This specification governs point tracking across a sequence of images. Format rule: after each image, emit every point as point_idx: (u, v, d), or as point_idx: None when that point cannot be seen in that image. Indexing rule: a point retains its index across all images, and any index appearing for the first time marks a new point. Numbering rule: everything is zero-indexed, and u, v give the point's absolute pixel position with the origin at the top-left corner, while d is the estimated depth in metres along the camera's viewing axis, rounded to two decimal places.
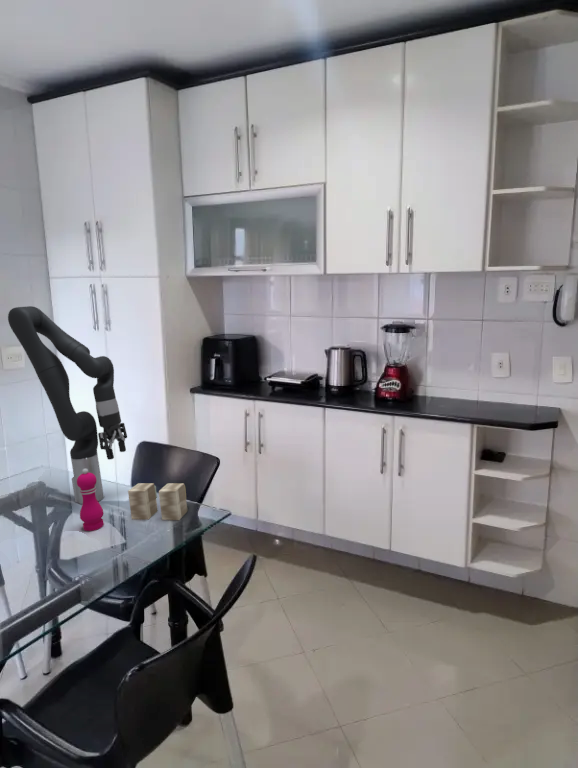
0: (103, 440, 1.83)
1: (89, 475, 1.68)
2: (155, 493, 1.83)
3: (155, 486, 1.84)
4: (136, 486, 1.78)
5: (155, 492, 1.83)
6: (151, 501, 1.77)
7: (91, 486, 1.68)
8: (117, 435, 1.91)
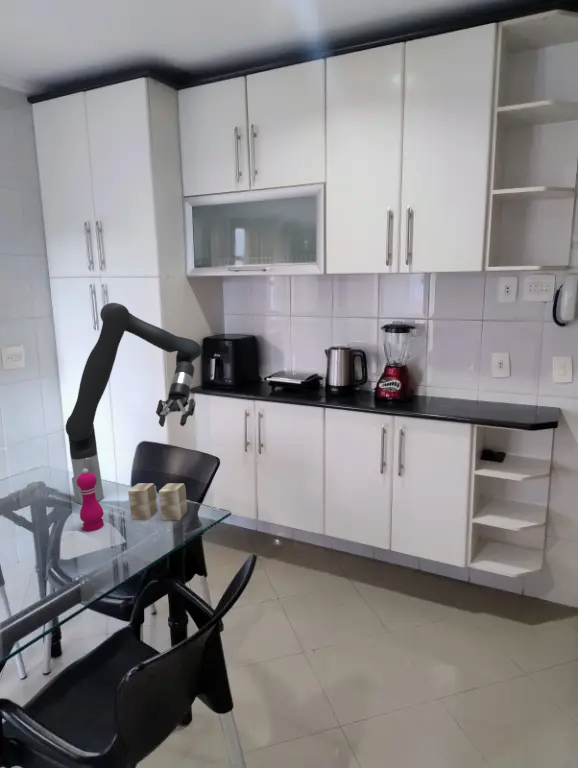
0: (193, 407, 1.92)
1: (89, 475, 1.68)
2: (155, 493, 1.83)
3: (155, 486, 1.84)
4: (136, 486, 1.78)
5: (155, 492, 1.83)
6: (151, 501, 1.77)
7: (91, 486, 1.68)
8: None
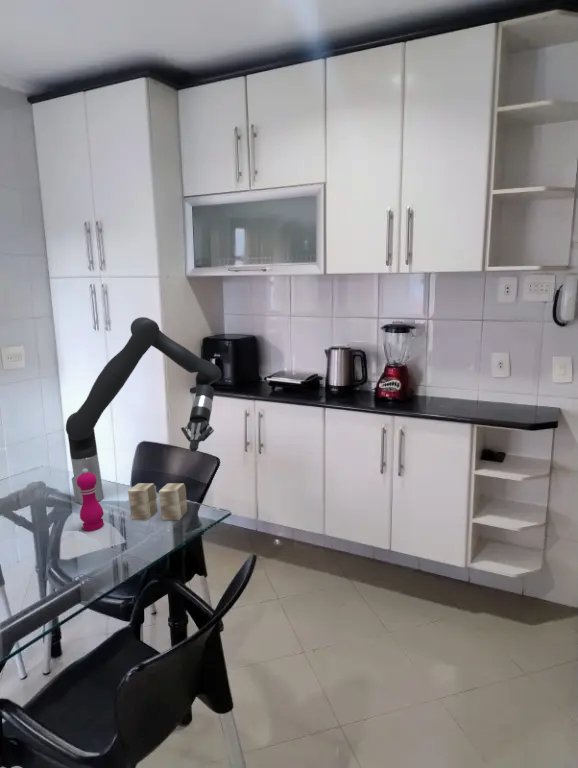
0: (208, 434, 1.96)
1: (89, 475, 1.68)
2: (155, 493, 1.83)
3: (155, 486, 1.84)
4: (136, 486, 1.78)
5: (155, 492, 1.83)
6: (151, 501, 1.77)
7: (91, 486, 1.68)
8: None
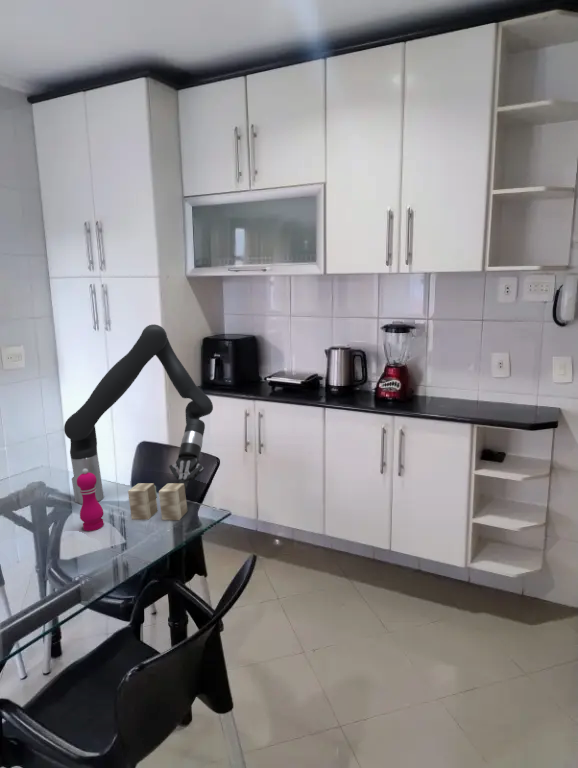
0: (198, 473, 1.85)
1: (89, 475, 1.68)
2: (155, 493, 1.83)
3: (155, 486, 1.84)
4: (136, 486, 1.78)
5: (155, 492, 1.83)
6: (151, 501, 1.77)
7: (91, 486, 1.68)
8: None
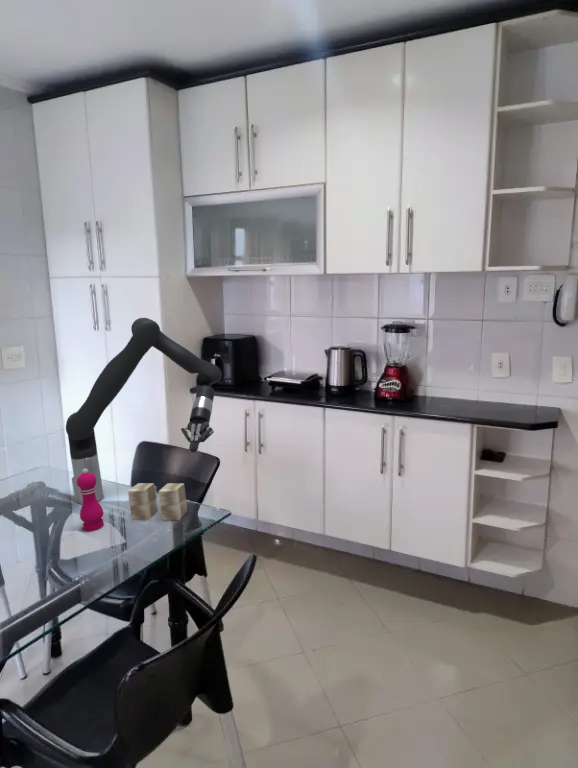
0: (208, 435, 1.96)
1: (89, 475, 1.68)
2: (155, 493, 1.83)
3: (155, 486, 1.84)
4: (136, 486, 1.78)
5: (155, 492, 1.83)
6: (151, 501, 1.77)
7: (91, 486, 1.68)
8: None
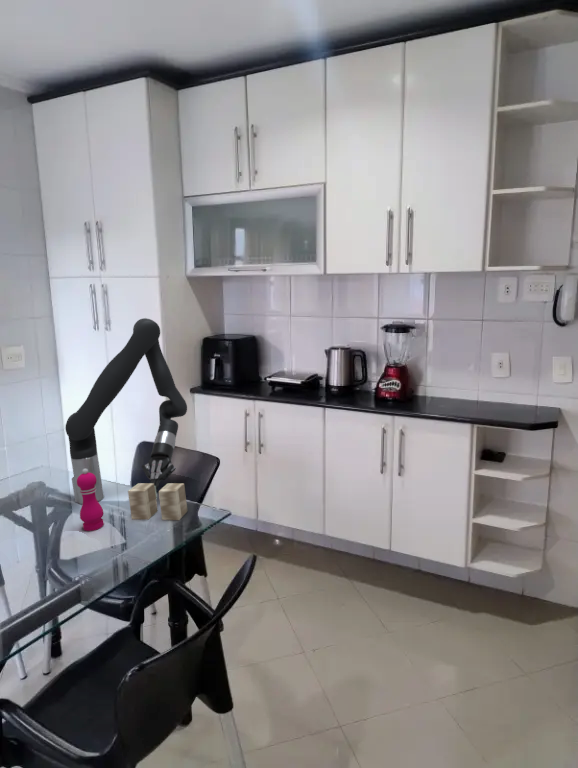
0: (169, 473, 1.88)
1: (89, 475, 1.68)
2: (155, 493, 1.83)
3: (155, 486, 1.84)
4: (136, 486, 1.78)
5: (155, 492, 1.83)
6: (151, 501, 1.77)
7: (91, 486, 1.68)
8: None
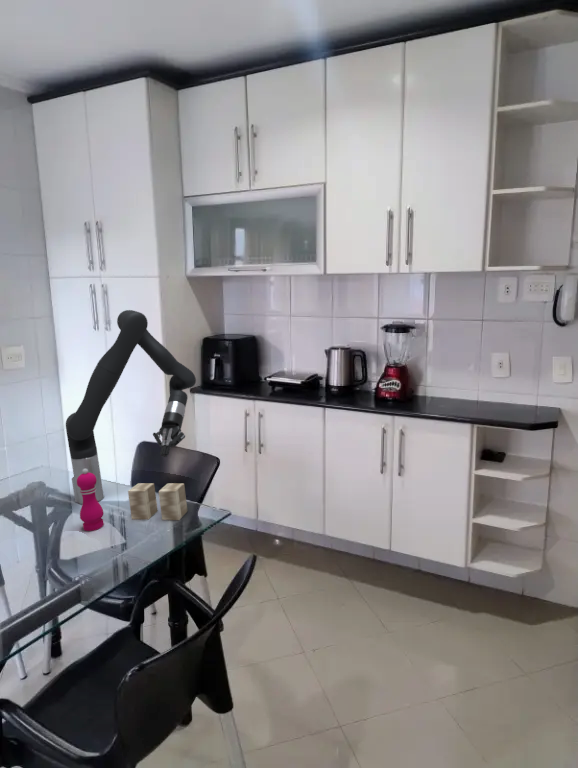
0: (179, 440, 1.97)
1: (89, 475, 1.68)
2: None
3: None
4: (136, 486, 1.78)
5: None
6: (151, 501, 1.77)
7: (91, 486, 1.68)
8: None
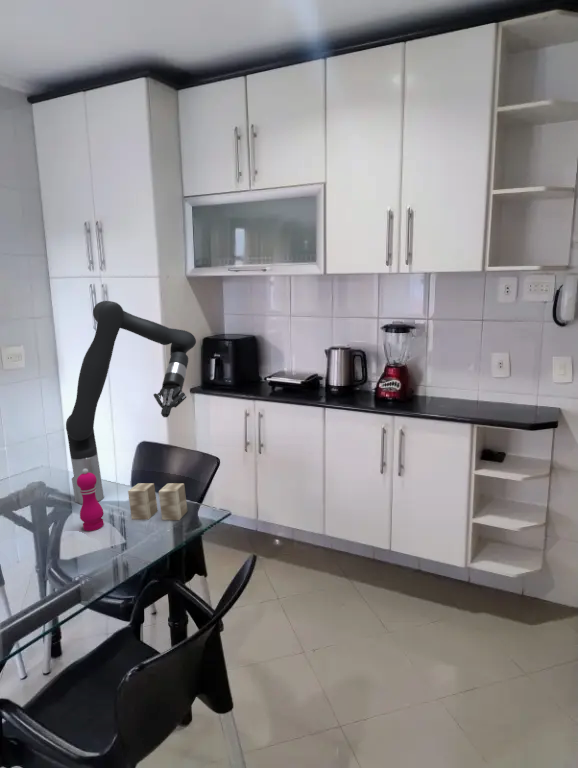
0: (180, 400, 1.94)
1: (89, 475, 1.68)
2: None
3: None
4: (136, 486, 1.78)
5: None
6: (151, 501, 1.77)
7: (91, 486, 1.68)
8: None
